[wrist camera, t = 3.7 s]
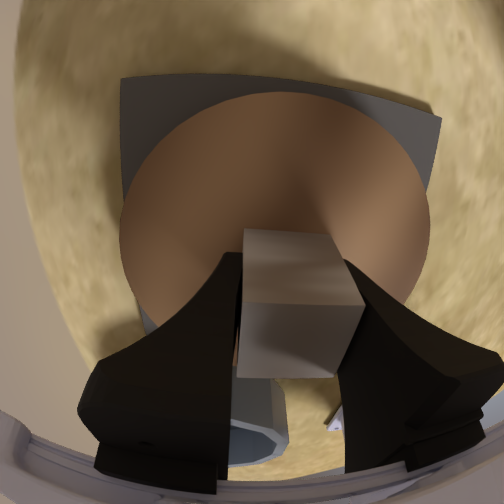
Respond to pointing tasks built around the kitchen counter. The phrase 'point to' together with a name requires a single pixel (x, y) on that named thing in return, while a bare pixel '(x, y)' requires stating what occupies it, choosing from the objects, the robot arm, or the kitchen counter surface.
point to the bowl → (256, 421)
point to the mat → (233, 86)
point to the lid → (277, 224)
